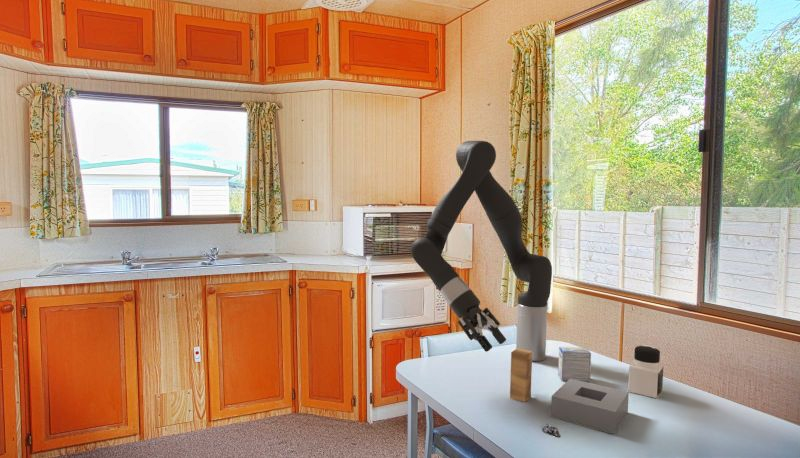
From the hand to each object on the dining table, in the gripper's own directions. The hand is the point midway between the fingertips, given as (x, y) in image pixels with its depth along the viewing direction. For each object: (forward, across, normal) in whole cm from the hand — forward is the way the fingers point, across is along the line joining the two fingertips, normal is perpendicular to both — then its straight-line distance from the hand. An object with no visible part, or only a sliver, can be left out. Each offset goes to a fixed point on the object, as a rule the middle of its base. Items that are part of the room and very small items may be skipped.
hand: (496, 345), depth 129 cm
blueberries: (+23, -13, -5) cm, 27 cm away
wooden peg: (+14, 0, +4) cm, 14 cm away
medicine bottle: (+31, +25, -14) cm, 42 cm away
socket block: (+26, +1, -8) cm, 27 cm away
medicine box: (+18, +22, -1) cm, 29 cm away
